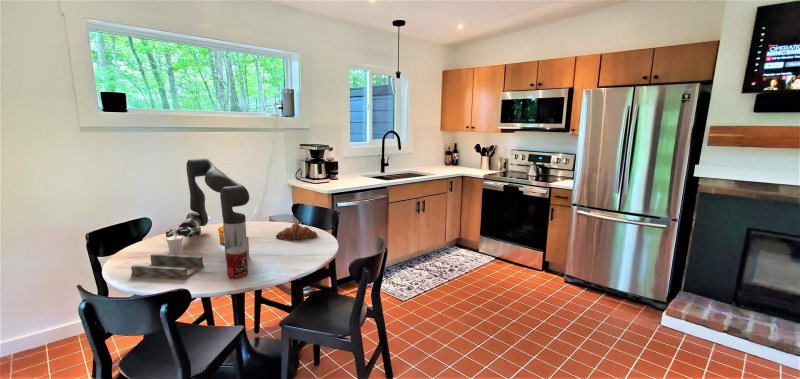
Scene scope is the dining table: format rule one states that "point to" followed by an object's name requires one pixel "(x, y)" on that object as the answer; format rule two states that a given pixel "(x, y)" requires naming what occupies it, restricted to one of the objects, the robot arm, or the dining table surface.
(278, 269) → the dining table surface
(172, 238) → the smoothie
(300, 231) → the pastry
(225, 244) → the robot arm
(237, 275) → the canned food
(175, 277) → the door track
